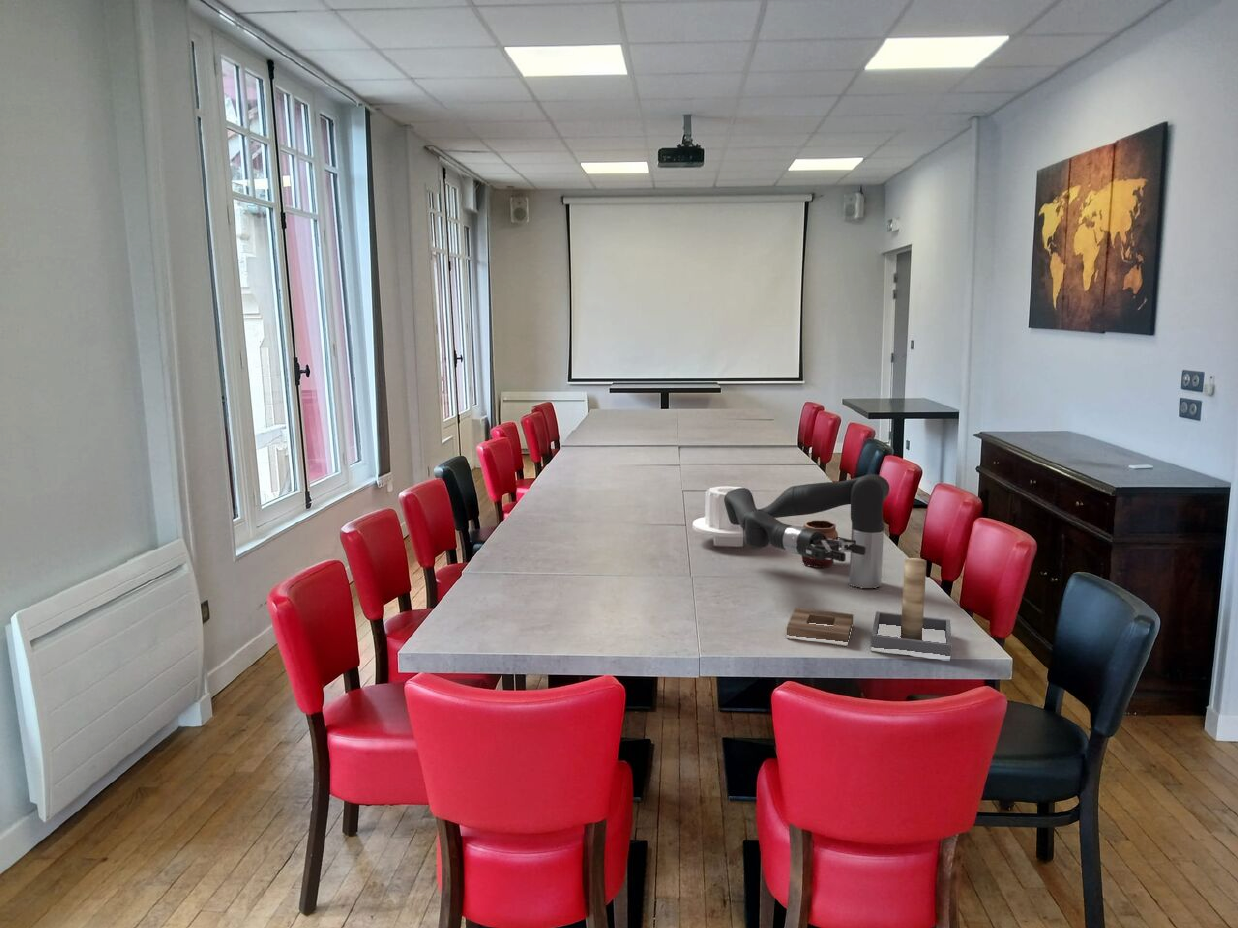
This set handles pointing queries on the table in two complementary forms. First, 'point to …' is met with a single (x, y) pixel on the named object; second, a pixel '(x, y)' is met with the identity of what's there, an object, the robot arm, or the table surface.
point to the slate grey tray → (911, 644)
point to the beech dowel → (913, 598)
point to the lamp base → (719, 519)
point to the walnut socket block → (803, 629)
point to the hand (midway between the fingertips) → (854, 554)
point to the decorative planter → (829, 532)
